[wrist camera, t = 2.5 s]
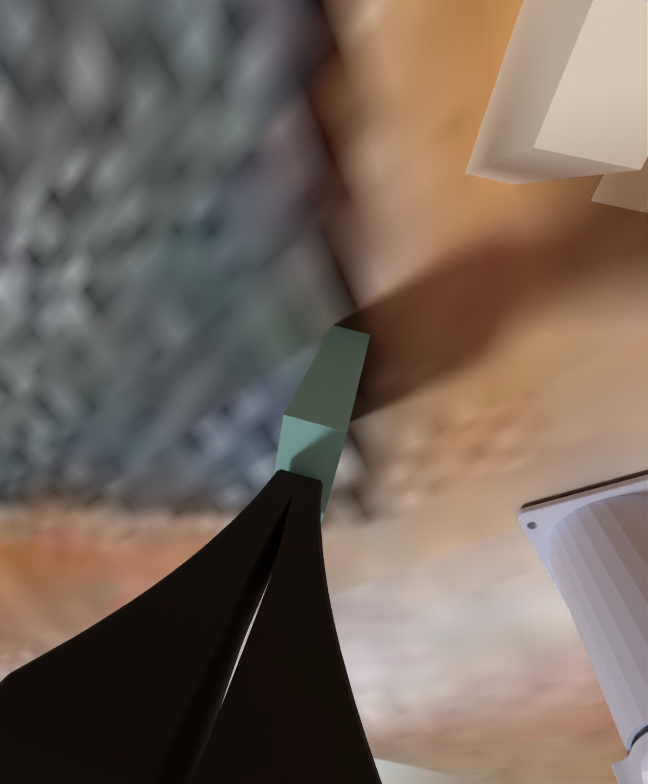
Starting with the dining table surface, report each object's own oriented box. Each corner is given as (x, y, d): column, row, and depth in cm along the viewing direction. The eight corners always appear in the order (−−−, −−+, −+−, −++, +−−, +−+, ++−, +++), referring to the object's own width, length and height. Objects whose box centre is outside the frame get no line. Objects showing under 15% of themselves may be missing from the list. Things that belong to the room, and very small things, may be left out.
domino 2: (596, -21, 10) (984, -458, 3) (514, 184, 13) (640, 170, 6) (533, -31, 10) (784, -472, 4) (464, 173, 13) (533, 147, 6)
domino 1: (370, 334, 17) (347, 432, 10) (345, 424, 19) (313, 551, 12) (332, 325, 17) (283, 414, 10) (313, 415, 19) (263, 535, 12)
